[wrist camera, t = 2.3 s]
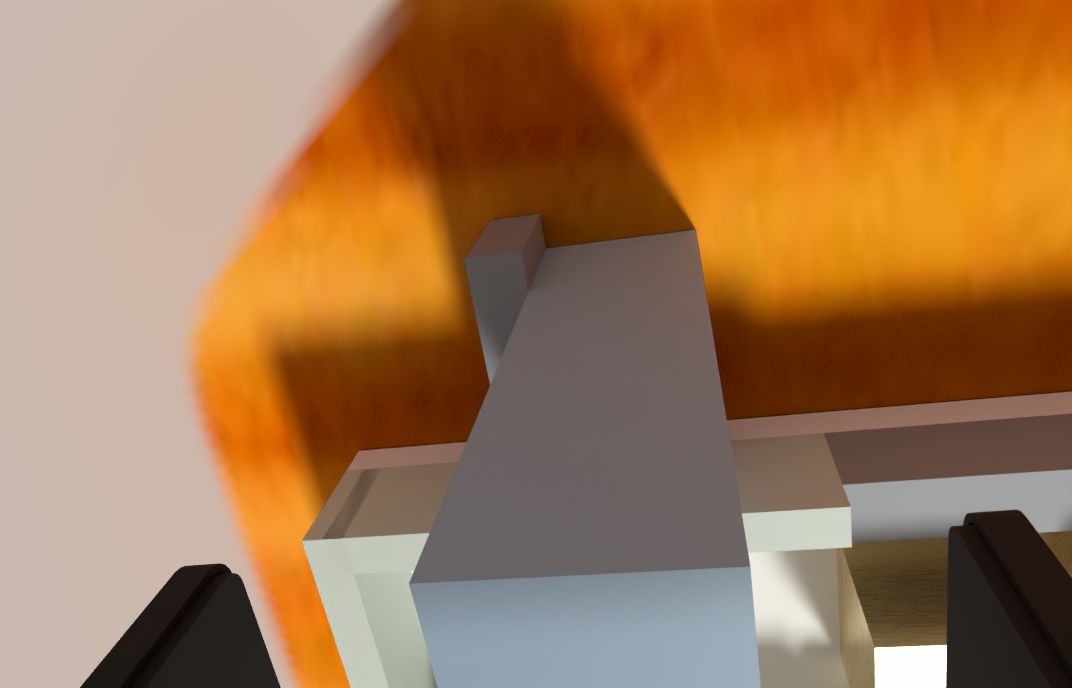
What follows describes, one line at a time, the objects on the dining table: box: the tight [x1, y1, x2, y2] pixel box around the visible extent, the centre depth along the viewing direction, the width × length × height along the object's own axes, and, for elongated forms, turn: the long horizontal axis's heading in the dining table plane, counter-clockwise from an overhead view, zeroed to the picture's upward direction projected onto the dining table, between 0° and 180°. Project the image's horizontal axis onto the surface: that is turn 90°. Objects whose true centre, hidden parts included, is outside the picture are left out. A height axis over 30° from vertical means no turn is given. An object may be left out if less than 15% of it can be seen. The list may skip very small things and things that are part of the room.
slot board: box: [302, 392, 1072, 688], centre depth 20 cm, size 10×27×4 cm, turn 100°
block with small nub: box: [409, 214, 761, 688], centre depth 15 cm, size 5×5×12 cm
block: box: [837, 538, 948, 688], centre depth 19 cm, size 4×4×4 cm
